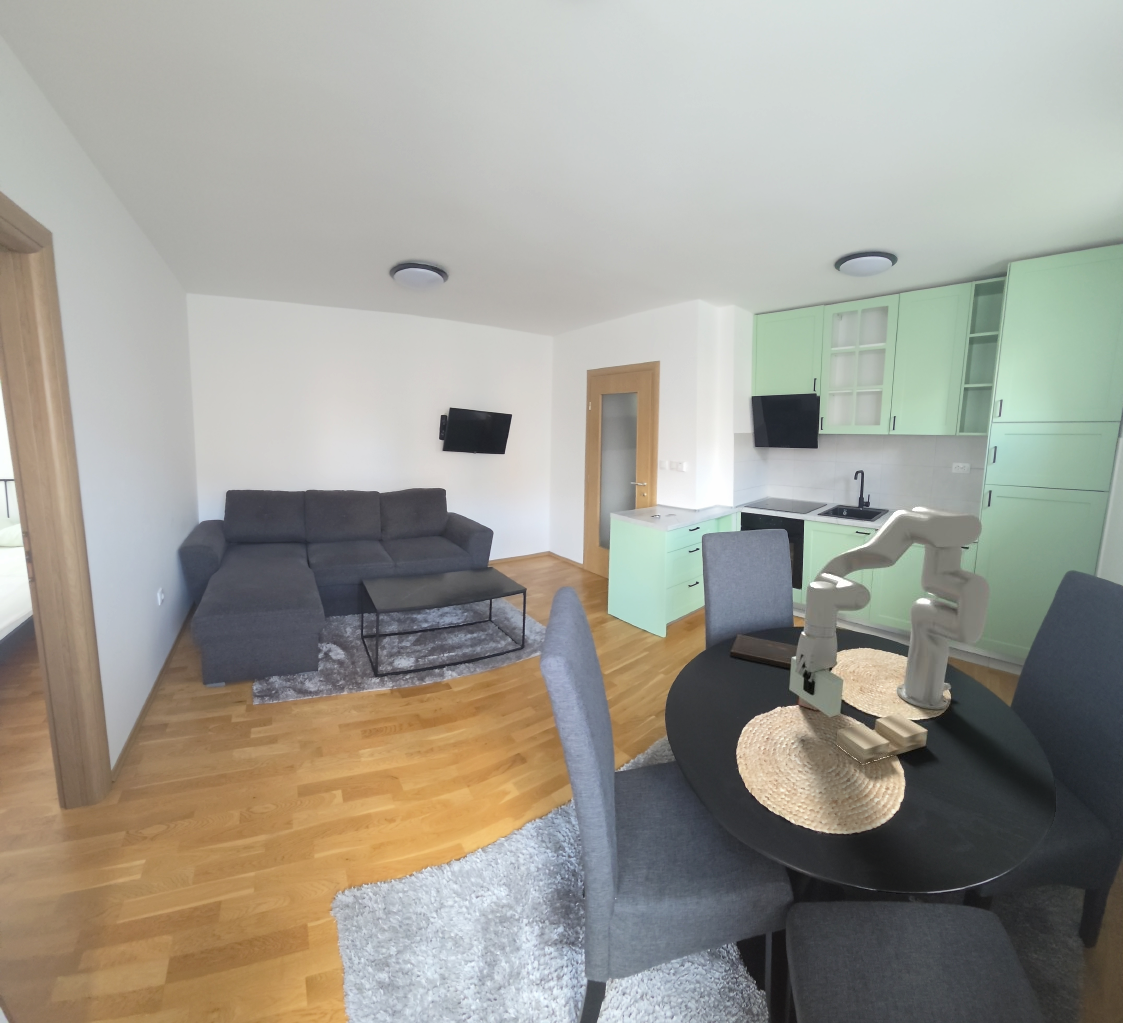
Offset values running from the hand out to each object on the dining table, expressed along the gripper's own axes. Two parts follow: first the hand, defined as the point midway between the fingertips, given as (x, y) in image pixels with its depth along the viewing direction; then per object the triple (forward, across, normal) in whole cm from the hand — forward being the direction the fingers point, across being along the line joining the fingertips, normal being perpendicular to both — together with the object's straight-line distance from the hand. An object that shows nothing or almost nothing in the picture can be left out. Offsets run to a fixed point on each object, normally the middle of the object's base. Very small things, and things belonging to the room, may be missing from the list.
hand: (814, 690), depth 137 cm
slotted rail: (+12, -11, +12) cm, 20 cm away
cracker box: (+12, -12, -11) cm, 20 cm away
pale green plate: (+3, 0, 0) cm, 3 cm away
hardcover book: (+13, -19, -39) cm, 45 cm away
